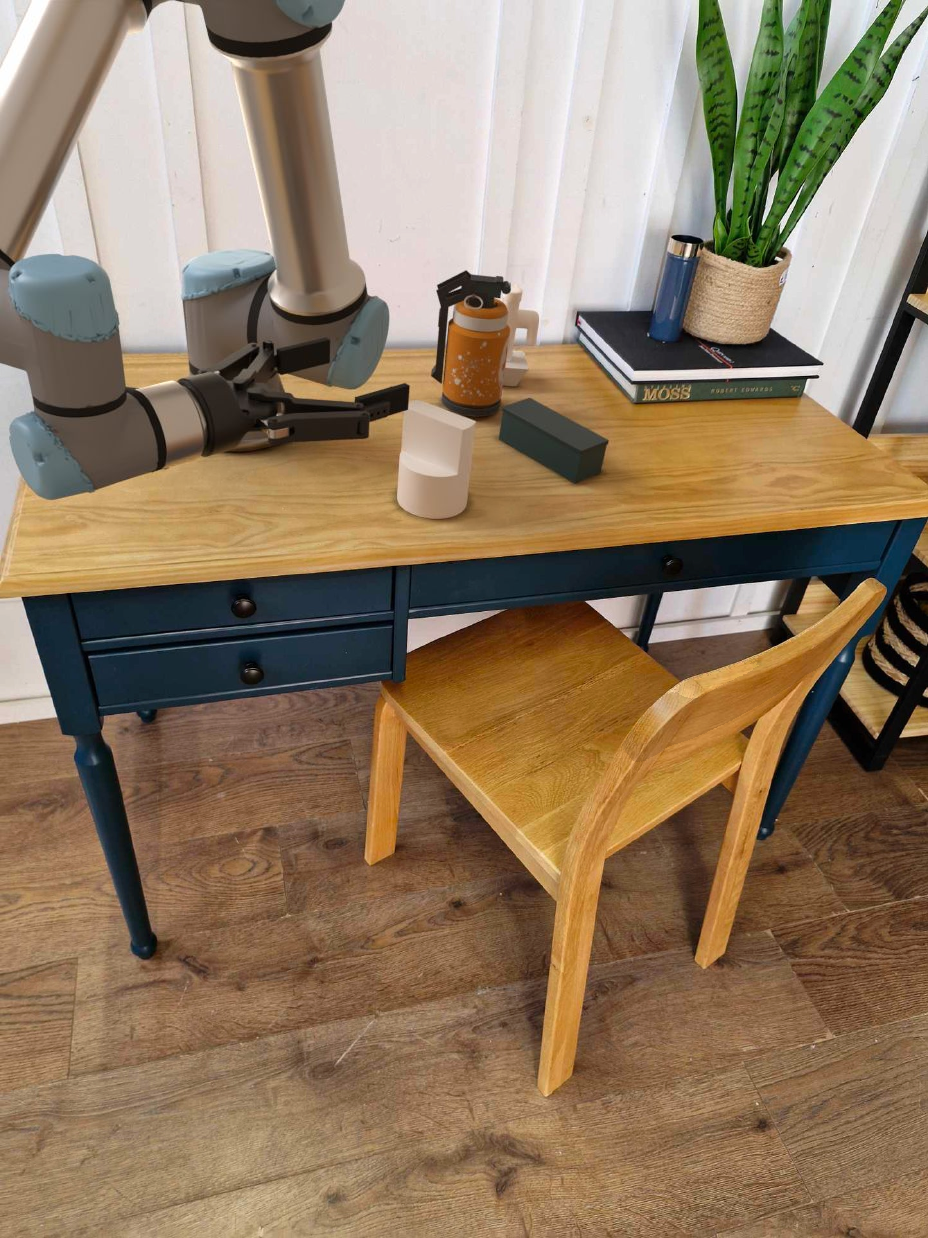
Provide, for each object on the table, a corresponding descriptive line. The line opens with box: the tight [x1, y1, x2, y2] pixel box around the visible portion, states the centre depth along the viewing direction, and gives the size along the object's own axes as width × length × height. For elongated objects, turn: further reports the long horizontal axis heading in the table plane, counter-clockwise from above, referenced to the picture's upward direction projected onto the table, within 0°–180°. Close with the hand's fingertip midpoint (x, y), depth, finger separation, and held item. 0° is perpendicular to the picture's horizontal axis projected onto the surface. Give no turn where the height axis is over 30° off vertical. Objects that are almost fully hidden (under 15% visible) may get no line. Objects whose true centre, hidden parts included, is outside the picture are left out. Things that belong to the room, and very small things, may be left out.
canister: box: [430, 269, 512, 418], centre depth 134 cm, size 9×11×20 cm
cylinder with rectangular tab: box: [396, 399, 477, 520], centre depth 115 cm, size 9×9×12 cm
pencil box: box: [498, 397, 610, 484], centre depth 129 cm, size 15×6×5 cm, turn 43°
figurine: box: [502, 283, 540, 387], centre depth 145 cm, size 7×9×15 cm
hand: (366, 372), depth 99 cm, fingers open, 13 cm apart
